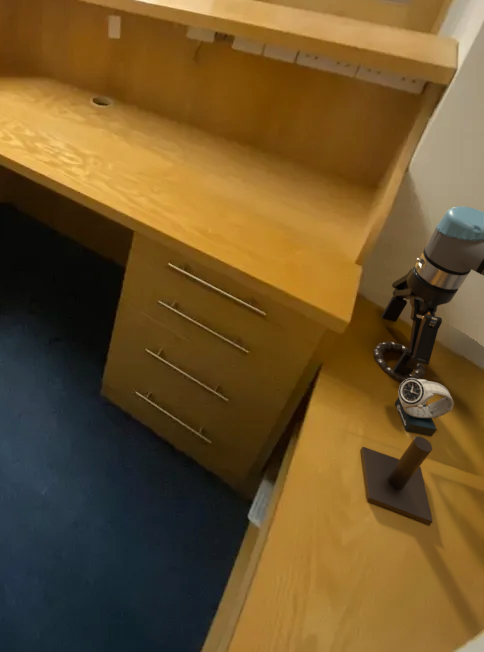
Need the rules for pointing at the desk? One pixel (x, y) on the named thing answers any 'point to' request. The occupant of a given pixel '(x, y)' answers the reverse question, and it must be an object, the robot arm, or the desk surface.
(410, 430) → the watch
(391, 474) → the stand
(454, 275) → the robot arm
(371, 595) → the desk surface
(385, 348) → the brown beaded bracelet ring
